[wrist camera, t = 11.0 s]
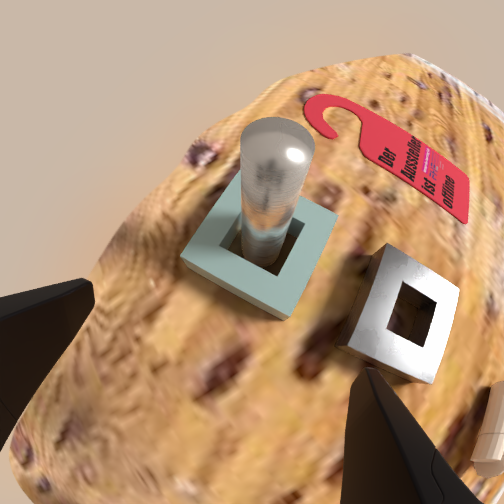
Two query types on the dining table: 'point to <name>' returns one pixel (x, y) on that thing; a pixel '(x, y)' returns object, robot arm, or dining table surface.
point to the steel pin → (271, 184)
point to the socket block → (380, 309)
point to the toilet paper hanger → (491, 436)
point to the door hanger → (399, 154)
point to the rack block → (246, 273)
